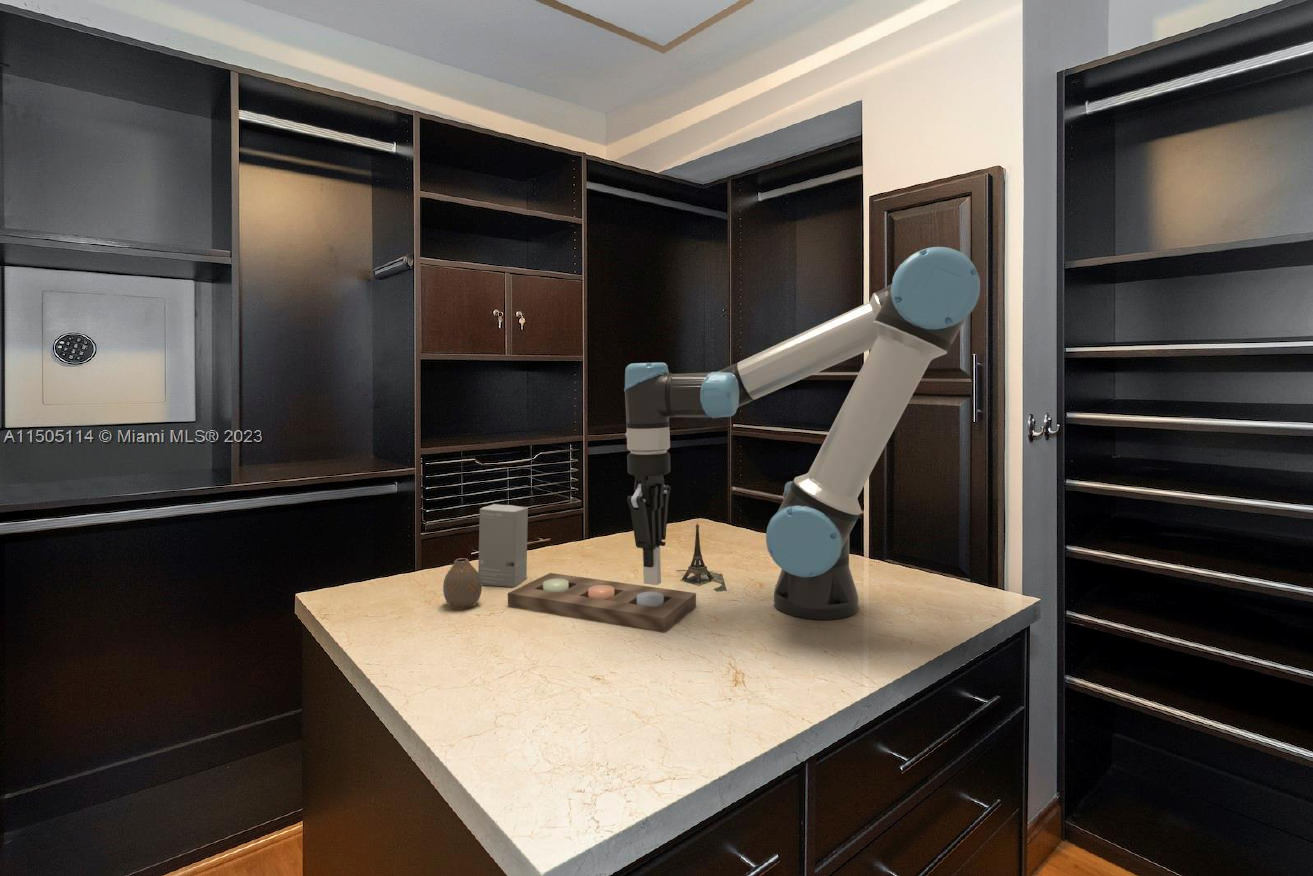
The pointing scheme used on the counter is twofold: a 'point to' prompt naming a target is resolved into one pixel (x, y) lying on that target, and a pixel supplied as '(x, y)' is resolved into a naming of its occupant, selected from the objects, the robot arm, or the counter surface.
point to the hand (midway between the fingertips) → (652, 583)
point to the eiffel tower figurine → (701, 569)
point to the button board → (604, 602)
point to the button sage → (555, 585)
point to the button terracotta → (601, 592)
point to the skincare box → (503, 545)
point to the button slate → (650, 599)
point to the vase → (462, 585)
